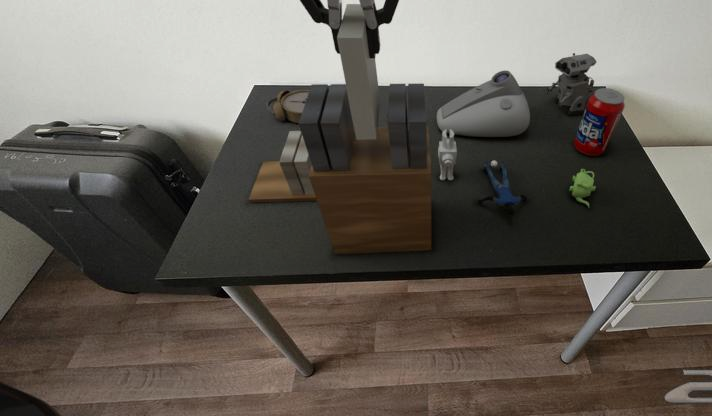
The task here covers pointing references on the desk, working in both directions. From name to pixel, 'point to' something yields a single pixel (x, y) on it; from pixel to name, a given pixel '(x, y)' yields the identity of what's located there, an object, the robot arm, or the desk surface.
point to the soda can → (599, 121)
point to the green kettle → (582, 186)
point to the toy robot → (447, 155)
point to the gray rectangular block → (359, 72)
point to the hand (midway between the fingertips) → (359, 55)
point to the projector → (487, 109)
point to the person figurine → (502, 189)
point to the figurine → (574, 82)
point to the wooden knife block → (370, 171)
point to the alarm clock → (289, 105)
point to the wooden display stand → (285, 175)
